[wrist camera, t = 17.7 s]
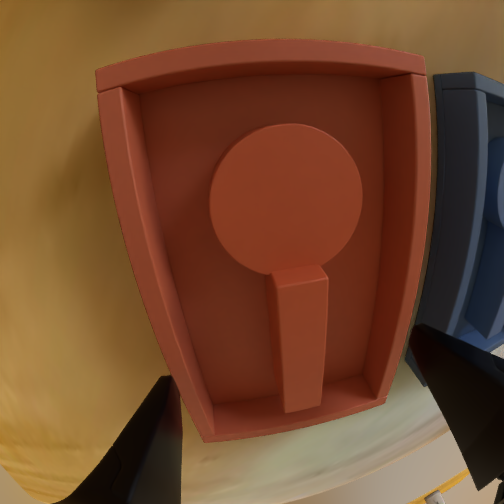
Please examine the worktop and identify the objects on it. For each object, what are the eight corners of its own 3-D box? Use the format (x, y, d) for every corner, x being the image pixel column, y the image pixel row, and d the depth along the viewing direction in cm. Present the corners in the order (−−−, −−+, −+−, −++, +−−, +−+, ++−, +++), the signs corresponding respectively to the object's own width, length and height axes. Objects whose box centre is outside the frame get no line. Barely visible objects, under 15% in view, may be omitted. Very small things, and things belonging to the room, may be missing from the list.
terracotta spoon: (335, 361, 13) (353, 396, 11) (242, 380, 13) (248, 420, 11) (340, 121, 9) (376, 121, 6) (199, 133, 8) (195, 133, 6)
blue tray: (494, 319, 16) (513, 337, 13) (404, 359, 15) (423, 388, 13) (528, 107, 9) (557, 112, 7) (432, 74, 9) (473, 71, 6)
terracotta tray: (367, 372, 15) (385, 403, 12) (202, 405, 14) (203, 443, 12) (384, 65, 8) (424, 55, 6) (121, 82, 8) (94, 69, 5)
